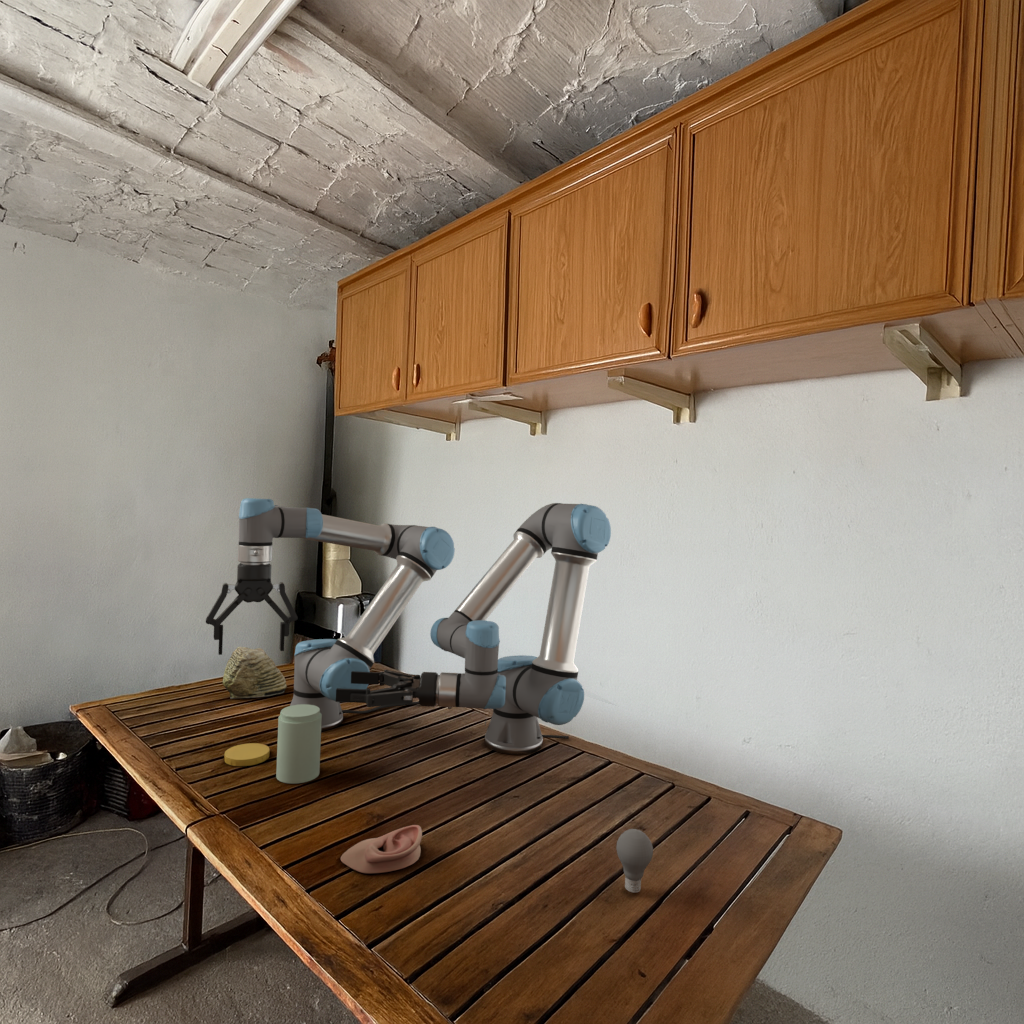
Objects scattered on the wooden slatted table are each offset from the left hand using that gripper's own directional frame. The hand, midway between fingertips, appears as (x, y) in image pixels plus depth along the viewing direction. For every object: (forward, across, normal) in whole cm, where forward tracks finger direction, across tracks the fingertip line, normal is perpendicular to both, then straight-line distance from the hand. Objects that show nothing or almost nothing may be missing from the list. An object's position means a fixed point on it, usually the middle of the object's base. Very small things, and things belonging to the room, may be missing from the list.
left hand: (251, 651), depth 151 cm
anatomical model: (+26, +19, -53) cm, 62 cm away
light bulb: (+26, +56, -78) cm, 99 cm away
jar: (+26, +10, -14) cm, 31 cm away
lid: (+24, 0, 0) cm, 24 cm away
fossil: (+26, +4, +49) cm, 56 cm away
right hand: (+5, +19, -18) cm, 26 cm away
